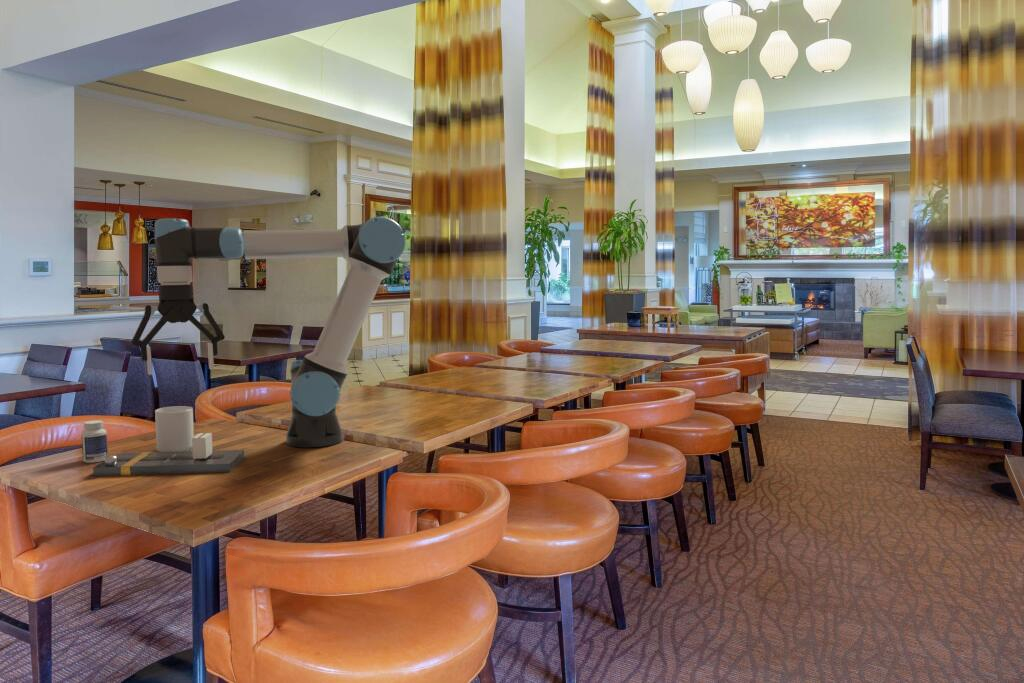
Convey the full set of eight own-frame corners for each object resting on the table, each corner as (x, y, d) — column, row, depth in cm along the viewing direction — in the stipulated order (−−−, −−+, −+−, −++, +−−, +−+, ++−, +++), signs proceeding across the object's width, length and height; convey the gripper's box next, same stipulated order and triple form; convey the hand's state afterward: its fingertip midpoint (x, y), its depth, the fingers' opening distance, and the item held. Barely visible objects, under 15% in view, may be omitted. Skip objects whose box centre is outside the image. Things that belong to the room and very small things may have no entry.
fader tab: (212, 452, 169) (211, 432, 168) (206, 458, 164) (205, 437, 163) (199, 453, 168) (198, 432, 168) (192, 458, 163) (192, 437, 163)
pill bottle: (112, 459, 172) (110, 420, 171) (92, 464, 167) (89, 425, 166) (98, 456, 174) (96, 418, 173) (77, 461, 169) (75, 422, 168)
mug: (194, 453, 178) (192, 411, 177) (155, 456, 174) (153, 413, 173) (195, 442, 189) (193, 403, 188) (158, 446, 185) (157, 405, 184)
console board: (244, 457, 174) (243, 442, 173) (230, 472, 161) (229, 455, 160) (118, 461, 170) (117, 445, 170) (93, 476, 157) (92, 459, 157)
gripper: (228, 282, 174) (233, 365, 177) (115, 285, 161) (121, 374, 163) (233, 282, 168) (238, 368, 170) (116, 285, 155) (123, 378, 157)
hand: (181, 371), depth 167 cm, fingers open, 13 cm apart
